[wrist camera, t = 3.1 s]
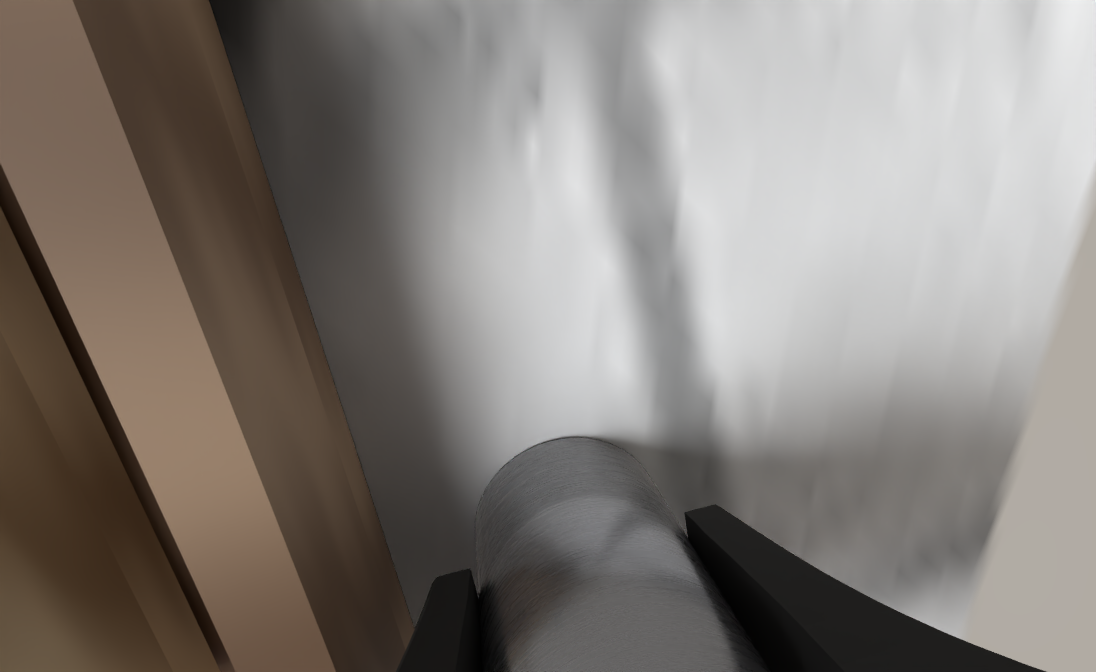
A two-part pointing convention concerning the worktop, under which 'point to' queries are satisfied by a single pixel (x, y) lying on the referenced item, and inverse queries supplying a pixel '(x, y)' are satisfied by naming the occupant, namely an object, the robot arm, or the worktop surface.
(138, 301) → the bay
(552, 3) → the worktop surface
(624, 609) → the peg
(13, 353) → the crate
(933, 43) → the worktop surface
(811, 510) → the worktop surface
